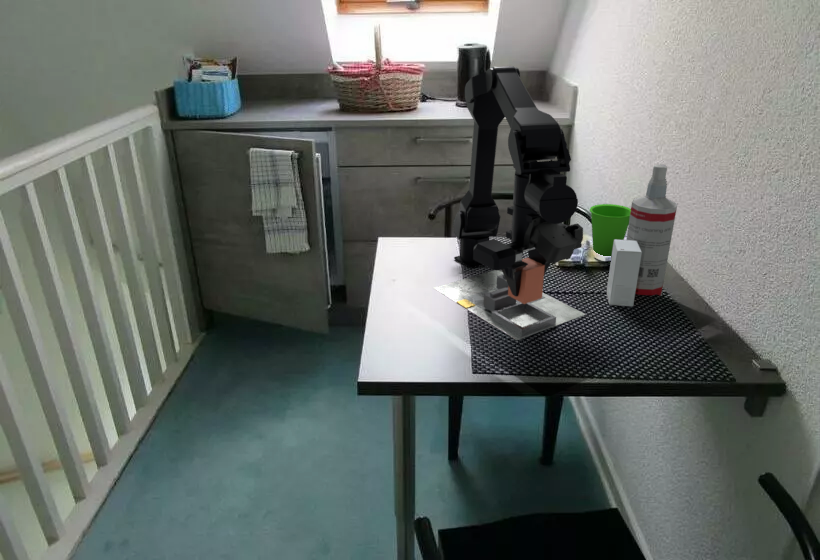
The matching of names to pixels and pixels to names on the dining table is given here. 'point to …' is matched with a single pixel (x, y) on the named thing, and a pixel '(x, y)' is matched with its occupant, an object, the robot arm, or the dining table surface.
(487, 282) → the panel
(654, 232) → the spray bottle
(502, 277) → the toggle
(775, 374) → the dining table surface
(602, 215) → the cup
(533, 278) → the orange-red rectangular block
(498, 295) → the toggle
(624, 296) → the skincare box
